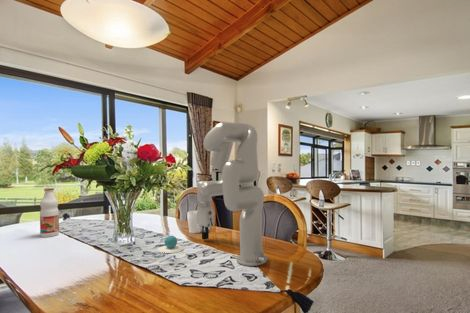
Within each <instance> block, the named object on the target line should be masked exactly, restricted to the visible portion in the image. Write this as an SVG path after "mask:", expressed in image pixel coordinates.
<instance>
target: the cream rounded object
mask: <svg viewBox="0 0 470 313" xmlns="http://www.w3.org/2000/svg"><path fill="white" fill-rule="evenodd" d="M184 250H185V246H184V245H180V244H176V246H175V247H173V248H168V247H166V245H162V246H161V247H158V248H157V249H156V252H157V251H158V252H157V253H159V251H160V252H161V253H160V254H163V253H164V252H165V253H171V254H177V253H180V252H183V251H184ZM163 251H164V252H163ZM162 252H163V253H162Z"/></svg>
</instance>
